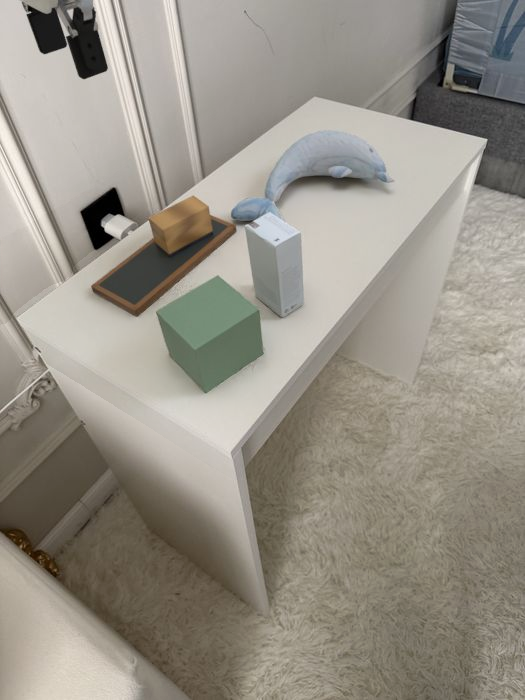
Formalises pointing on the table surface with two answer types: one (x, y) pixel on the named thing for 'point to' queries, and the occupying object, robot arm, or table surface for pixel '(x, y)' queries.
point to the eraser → (181, 225)
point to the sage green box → (211, 332)
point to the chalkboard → (156, 270)
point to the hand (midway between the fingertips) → (73, 61)
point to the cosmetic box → (276, 263)
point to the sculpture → (315, 168)
